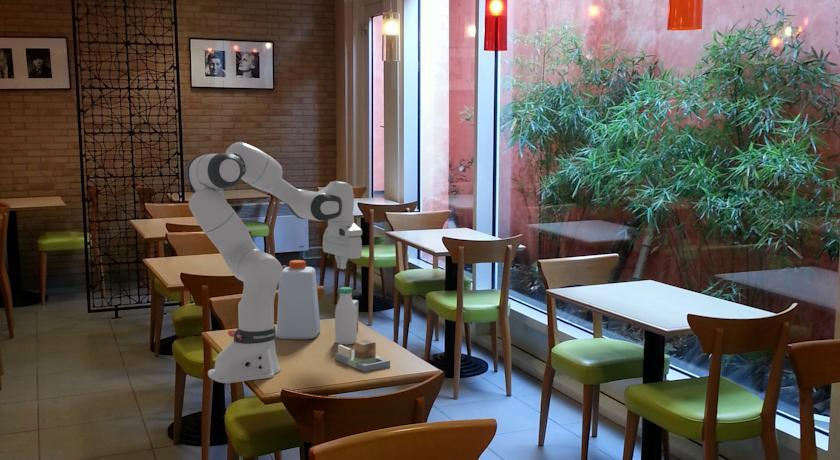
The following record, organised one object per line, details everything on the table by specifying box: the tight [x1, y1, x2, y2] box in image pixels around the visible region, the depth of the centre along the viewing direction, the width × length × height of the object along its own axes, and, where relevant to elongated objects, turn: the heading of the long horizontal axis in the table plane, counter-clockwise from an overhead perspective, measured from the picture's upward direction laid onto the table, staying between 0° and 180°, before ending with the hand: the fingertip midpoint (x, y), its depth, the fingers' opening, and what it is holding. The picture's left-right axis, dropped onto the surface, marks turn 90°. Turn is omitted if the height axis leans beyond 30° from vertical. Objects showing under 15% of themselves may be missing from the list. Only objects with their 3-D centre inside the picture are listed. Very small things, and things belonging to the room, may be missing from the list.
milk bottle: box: [334, 286, 358, 346], centre depth 300 cm, size 8×8×20 cm
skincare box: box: [352, 299, 359, 332], centre depth 314 cm, size 6×4×12 cm
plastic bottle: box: [275, 259, 321, 341], centre depth 309 cm, size 15×15×28 cm
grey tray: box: [334, 344, 391, 373], centre depth 276 cm, size 10×18×5 cm, turn 36°
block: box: [354, 339, 377, 360], centre depth 276 cm, size 5×5×5 cm
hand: (341, 268), depth 286 cm, fingers closed
